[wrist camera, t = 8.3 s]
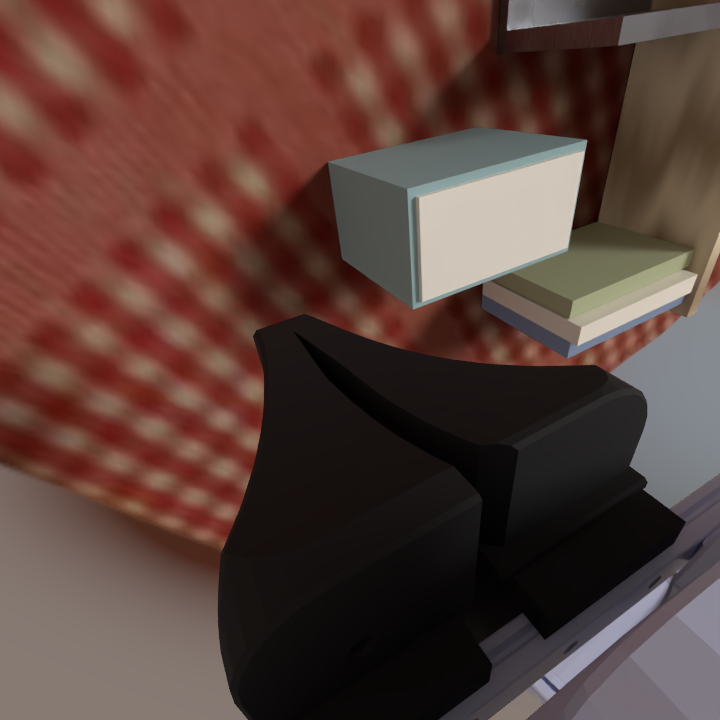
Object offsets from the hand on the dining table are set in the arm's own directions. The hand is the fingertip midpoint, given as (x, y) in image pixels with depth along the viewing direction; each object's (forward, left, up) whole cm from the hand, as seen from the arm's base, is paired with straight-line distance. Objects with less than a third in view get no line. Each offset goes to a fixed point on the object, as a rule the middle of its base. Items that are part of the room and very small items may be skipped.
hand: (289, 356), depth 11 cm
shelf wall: (0, -24, -10) cm, 26 cm away
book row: (-7, -19, -10) cm, 22 cm away
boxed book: (0, -10, -10) cm, 14 cm away
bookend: (+7, -19, -10) cm, 22 cm away
